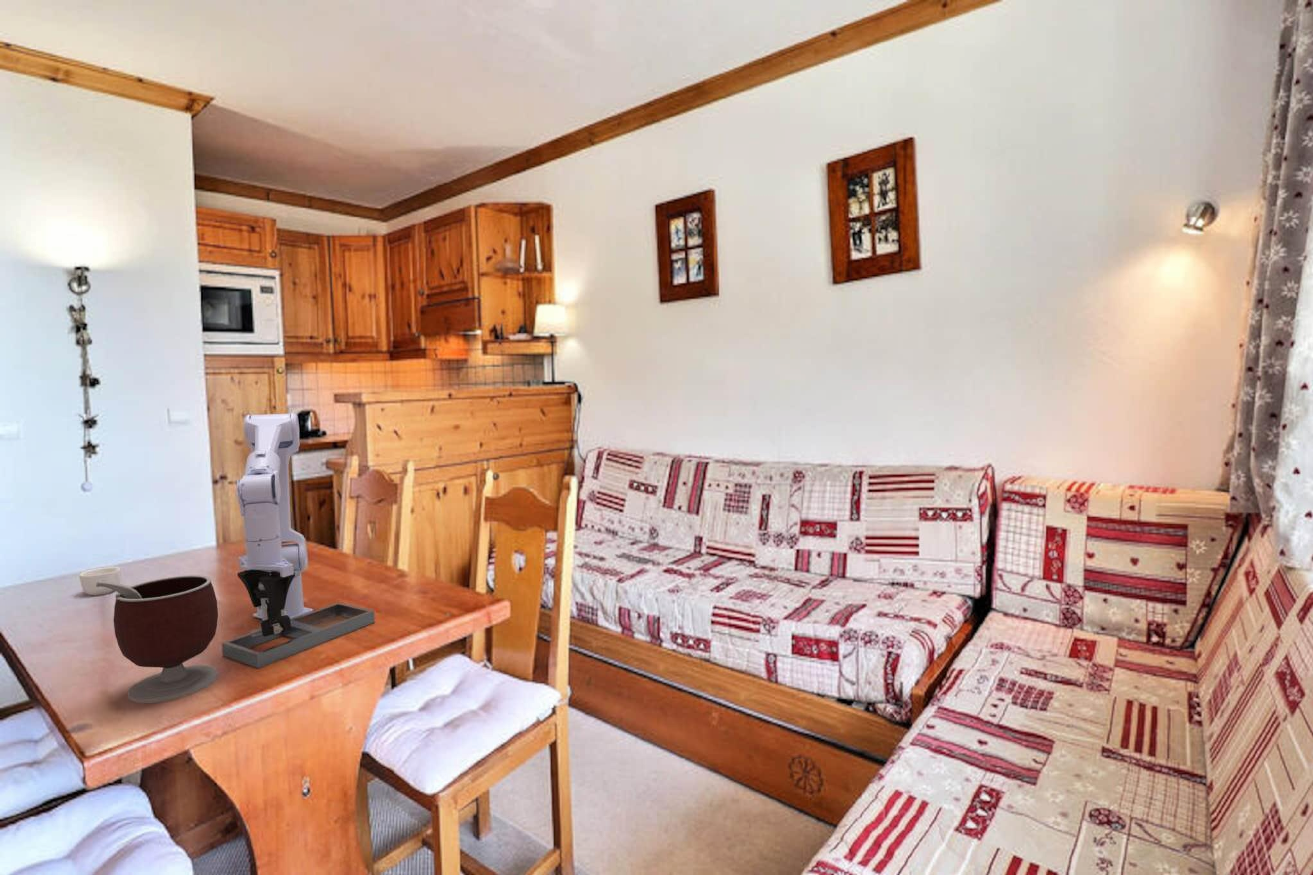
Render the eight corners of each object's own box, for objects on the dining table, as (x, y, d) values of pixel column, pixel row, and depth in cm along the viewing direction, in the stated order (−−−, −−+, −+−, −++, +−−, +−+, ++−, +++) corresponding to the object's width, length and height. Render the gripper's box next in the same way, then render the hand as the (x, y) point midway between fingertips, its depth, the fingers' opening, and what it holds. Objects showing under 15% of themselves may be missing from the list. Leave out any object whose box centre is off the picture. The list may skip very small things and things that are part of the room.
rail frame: (222, 655, 122) (221, 642, 121) (339, 613, 142) (339, 602, 142) (258, 668, 116) (257, 654, 116) (374, 622, 137) (373, 610, 137)
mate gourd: (215, 659, 120) (205, 553, 118) (231, 684, 110) (220, 569, 108) (106, 688, 110) (93, 573, 108) (112, 719, 100) (98, 592, 98)
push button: (254, 642, 120) (247, 590, 119) (249, 634, 124) (242, 584, 123) (295, 631, 124) (288, 580, 123) (288, 624, 128) (282, 574, 127)
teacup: (124, 592, 161) (121, 570, 160) (82, 600, 156) (80, 578, 155) (119, 583, 168) (117, 563, 167) (79, 591, 163) (77, 570, 162)
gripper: (219, 538, 122) (225, 608, 123) (263, 547, 115) (269, 621, 116) (257, 530, 128) (263, 597, 129) (302, 538, 121) (307, 608, 122)
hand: (269, 608), depth 123 cm, fingers closed on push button, 5 cm apart
